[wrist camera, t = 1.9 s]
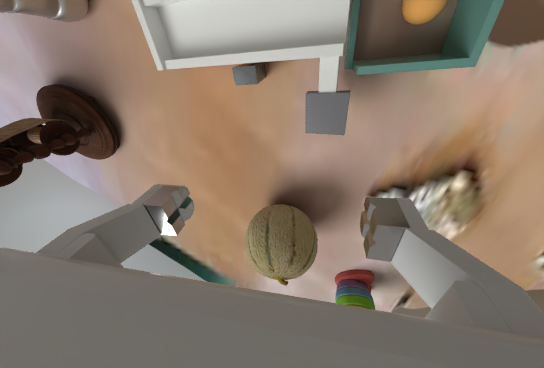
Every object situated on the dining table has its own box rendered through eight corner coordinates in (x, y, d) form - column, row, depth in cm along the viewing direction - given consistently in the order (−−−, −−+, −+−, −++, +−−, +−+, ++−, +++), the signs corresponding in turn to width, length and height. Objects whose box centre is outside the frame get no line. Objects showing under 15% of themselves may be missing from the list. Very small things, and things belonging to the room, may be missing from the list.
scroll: (98, 82, 35) (-80, 121, 20) (135, 156, 44) (32, 223, 28) (34, 82, 38) (-170, 116, 22) (81, 151, 47) (-41, 211, 31)
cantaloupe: (276, 178, 40) (258, 238, 28) (332, 214, 43) (337, 281, 31) (244, 216, 49) (221, 273, 37) (293, 243, 52) (284, 305, 40)
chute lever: (154, -1, 25) (129, -5, 23) (368, -55, 17) (368, -70, 14) (195, 124, 35) (181, 131, 32) (344, 131, 26) (342, 142, 24)
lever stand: (228, -43, 23) (208, -59, 19) (253, -49, 22) (238, -67, 18) (246, 78, 30) (235, 85, 26) (265, 77, 29) (257, 83, 25)
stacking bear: (370, 291, 58) (385, 372, 44) (334, 287, 61) (338, 362, 47) (374, 270, 52) (394, 357, 38) (334, 267, 54) (339, 347, 41)
